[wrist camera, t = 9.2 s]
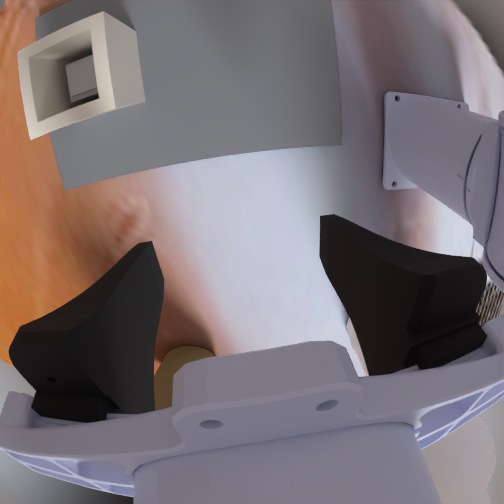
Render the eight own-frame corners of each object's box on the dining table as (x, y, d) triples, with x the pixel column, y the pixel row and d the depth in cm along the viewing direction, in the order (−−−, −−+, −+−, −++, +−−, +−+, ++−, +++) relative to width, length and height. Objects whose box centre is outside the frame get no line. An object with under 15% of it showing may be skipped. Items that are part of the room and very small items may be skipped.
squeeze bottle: (153, 375, 31) (146, 520, 16) (156, 331, 27) (140, 513, 12) (220, 383, 33) (233, 524, 18) (235, 341, 29) (257, 517, 14)
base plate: (319, -33, 12) (343, -55, 8) (336, 141, 20) (364, 157, 16) (42, 20, 11) (8, 12, 7) (70, 186, 19) (43, 210, 15)
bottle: (404, 325, 32) (503, 531, 7) (347, 348, 32) (428, 575, 7) (408, 277, 28) (545, 524, 2) (341, 304, 28) (453, 590, 3)
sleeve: (136, 31, 13) (103, 11, 8) (145, 101, 16) (115, 108, 11) (67, 55, 13) (17, 52, 8) (77, 121, 15) (30, 140, 10)
